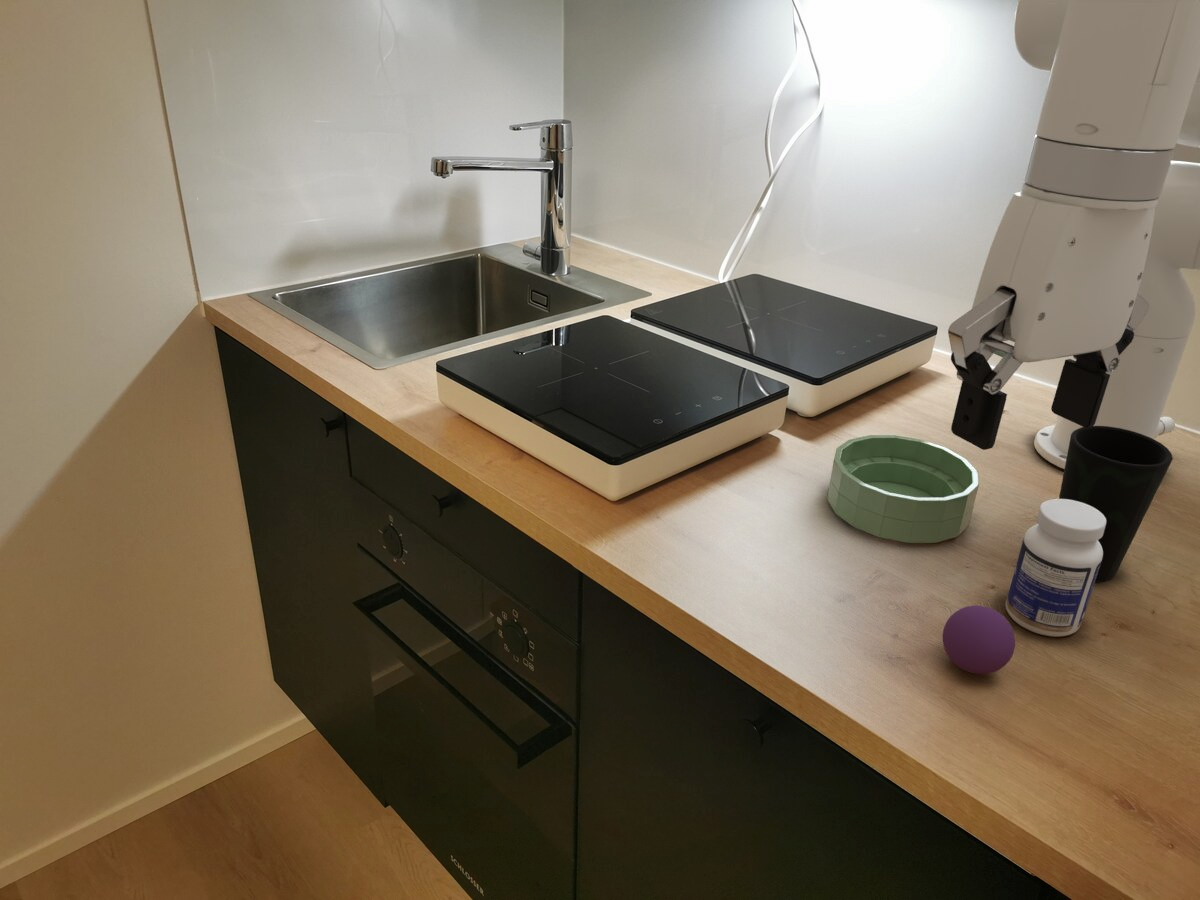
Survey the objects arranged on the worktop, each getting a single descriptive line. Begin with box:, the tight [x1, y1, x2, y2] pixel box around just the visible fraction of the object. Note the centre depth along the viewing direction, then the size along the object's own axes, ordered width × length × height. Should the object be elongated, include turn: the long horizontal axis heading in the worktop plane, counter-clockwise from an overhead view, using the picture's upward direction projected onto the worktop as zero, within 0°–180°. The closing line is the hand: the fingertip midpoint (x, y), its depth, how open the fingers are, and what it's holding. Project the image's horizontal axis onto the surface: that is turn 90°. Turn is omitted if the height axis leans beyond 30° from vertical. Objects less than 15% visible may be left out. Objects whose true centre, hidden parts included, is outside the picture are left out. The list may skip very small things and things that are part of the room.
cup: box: [1058, 426, 1174, 583], centre depth 79 cm, size 8×8×12 cm
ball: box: [942, 604, 1016, 675], centre depth 67 cm, size 5×5×5 cm
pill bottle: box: [1005, 498, 1106, 638], centre depth 72 cm, size 6×6×10 cm
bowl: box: [826, 434, 980, 544], centre depth 88 cm, size 13×13×5 cm
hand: (1022, 430), depth 62 cm, fingers open, 9 cm apart
